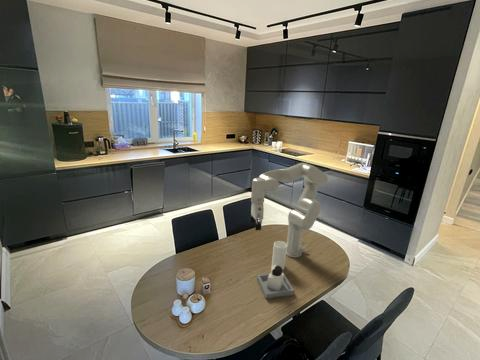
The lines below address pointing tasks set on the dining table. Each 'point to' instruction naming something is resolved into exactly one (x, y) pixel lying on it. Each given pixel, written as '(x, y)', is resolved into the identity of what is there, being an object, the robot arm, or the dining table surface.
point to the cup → (279, 254)
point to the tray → (270, 293)
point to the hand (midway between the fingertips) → (255, 226)
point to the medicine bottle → (275, 278)
